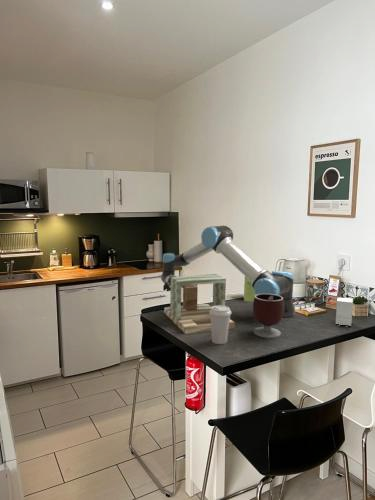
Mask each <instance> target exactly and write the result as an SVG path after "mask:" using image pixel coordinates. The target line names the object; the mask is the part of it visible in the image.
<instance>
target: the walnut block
mask: <svg viewBox="0 0 375 500" xmlns="http://www.w3.org/2000/svg"><path fill="white" fill-rule="evenodd" d="M198 293H199V290H198V286H197V287H196V286H194V285H186V286H183V288H182V306H183V308H184V309H185V310H197V305H198Z"/></svg>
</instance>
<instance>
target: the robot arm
mask: <svg viewBox="0 0 375 500" xmlns="http://www.w3.org/2000/svg"><path fill="white" fill-rule="evenodd" d="M233 239H234V232H233V230H232V229H231V227H229V226H227V225H215V226H214V225H212V226H207V227H205V228H204V229H203V231H202V232H201V242H200V243H198V244H197V245H194V246H193V247H191V248H189V249H188V250H186V251H184V252H182V253H181V254H177V255H175V253H173V252H168V253H167V252H166V253H163V254H162V273H161V275H160V279H161V281H162V283H163V287H162V288H163V289H162V290H163V291H166V292H171V277H175V276H176V275H175V274H176V272H175V271H176V269H177V268H181V267H186V266H188V265H190V264H191V263H192V262H194V261H195V260H197V259H199V258H201V257H203V256H205V255H206V254H209V253H211V252H213V251H214V252H215V253H216V254H221V255H222V256H223V257H224V258H225V259H227V261H229V262H230V263H231V265H233V266H234V267H235V268H236V269H237V270H238V271H239V272H240V273H241V274H242V275H243V276H244V277H245V276H246V277H247V278H248V279H249V280H250V281H251V285H252V287H253V288H254V290H255V294H256V295H257V294H275V295H279V296H281V297H283V302H284V312H283V317H282V318H292V317H294V316H295V315H296V309H295V305H294V302H293V293H294V280H295V279H294V274H293V273H292V272H289V271H282V270H281V271H280V270H272V271H271V272H270V271H269V270H267V269H262V267H260V266H259V265H258V264H257V263H255V262H254V261H253V260H252V259H251V258H250V257H249V256H248V254H246V253H244V251H242V249H240V248H239V247H238V246H237V245H236V244H235V243H234V242H233ZM183 286H186V285H183ZM183 286H181V289H183ZM194 286H196V287H198V285H194Z"/></svg>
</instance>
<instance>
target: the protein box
mask: <svg viewBox="0 0 375 500" xmlns="http://www.w3.org/2000/svg"><path fill="white" fill-rule="evenodd" d="M243 286H244V287H243V288H244V289H243V302H252V303H253V302H254V298H255V295H256V294H255V290H254V288H253V287H252V285H251V281H250V280H249V279H248V278H247V277H246V276H245V275H244V285H243Z"/></svg>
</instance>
